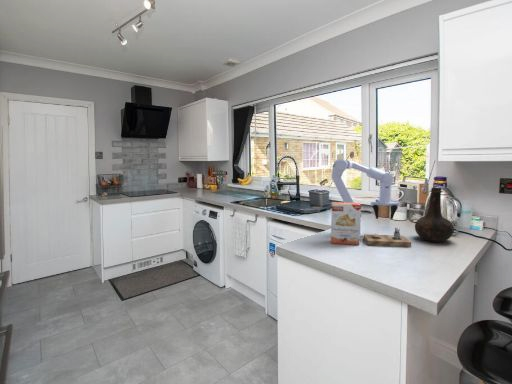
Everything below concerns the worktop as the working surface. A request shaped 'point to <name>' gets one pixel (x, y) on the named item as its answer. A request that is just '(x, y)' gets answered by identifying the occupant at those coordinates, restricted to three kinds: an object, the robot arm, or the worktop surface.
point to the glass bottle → (434, 221)
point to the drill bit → (397, 234)
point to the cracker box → (345, 223)
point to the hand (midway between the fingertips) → (384, 218)
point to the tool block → (386, 240)
